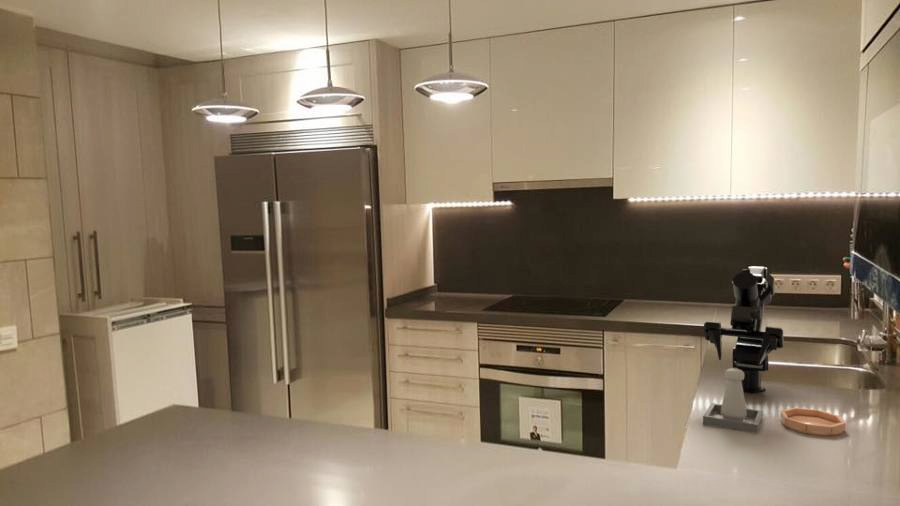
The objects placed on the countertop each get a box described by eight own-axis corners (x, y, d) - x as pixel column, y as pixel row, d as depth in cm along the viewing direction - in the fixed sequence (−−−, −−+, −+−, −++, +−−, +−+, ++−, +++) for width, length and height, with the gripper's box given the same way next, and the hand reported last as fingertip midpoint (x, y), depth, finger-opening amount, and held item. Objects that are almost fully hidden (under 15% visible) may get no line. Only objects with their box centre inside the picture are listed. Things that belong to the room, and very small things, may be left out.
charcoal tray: (711, 410, 163) (711, 402, 163) (762, 418, 157) (763, 410, 157) (702, 424, 153) (703, 416, 153) (757, 433, 147) (757, 425, 146)
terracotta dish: (802, 413, 160) (803, 405, 160) (855, 429, 149) (855, 420, 149) (769, 421, 154) (770, 413, 154) (821, 439, 143) (822, 429, 143)
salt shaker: (739, 417, 158) (740, 366, 157) (750, 425, 152) (752, 372, 151) (716, 417, 158) (717, 366, 157) (727, 425, 152) (728, 372, 151)
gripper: (705, 291, 168) (696, 339, 160) (784, 296, 158) (779, 348, 150) (709, 315, 175) (701, 363, 167) (785, 322, 166) (780, 373, 157)
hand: (738, 361), depth 160 cm, fingers open, 9 cm apart
